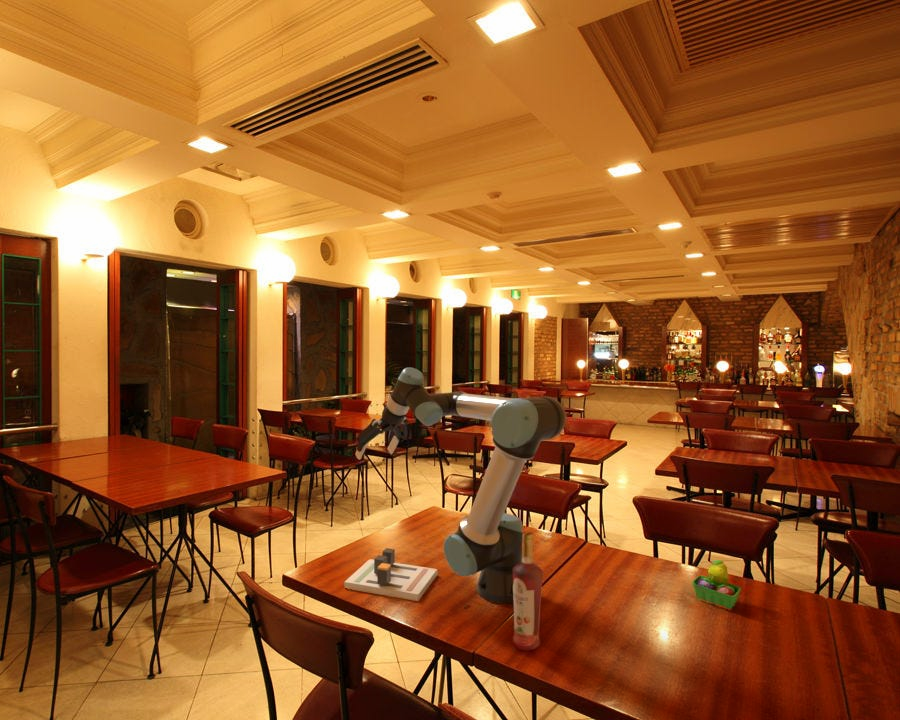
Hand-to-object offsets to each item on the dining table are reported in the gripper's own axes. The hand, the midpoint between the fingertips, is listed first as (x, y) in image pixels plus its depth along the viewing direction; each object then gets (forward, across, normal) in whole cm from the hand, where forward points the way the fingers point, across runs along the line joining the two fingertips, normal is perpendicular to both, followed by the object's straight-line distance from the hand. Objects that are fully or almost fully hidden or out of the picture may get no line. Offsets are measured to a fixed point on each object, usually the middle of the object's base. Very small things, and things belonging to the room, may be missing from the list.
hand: (374, 454), depth 173 cm
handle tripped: (+13, +12, +38) cm, 42 cm away
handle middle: (+17, +9, +33) cm, 38 cm away
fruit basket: (-26, -56, +97) cm, 115 cm away
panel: (+17, +7, +38) cm, 42 cm away
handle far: (+19, +4, +31) cm, 36 cm away
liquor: (-11, +2, +77) cm, 78 cm away
